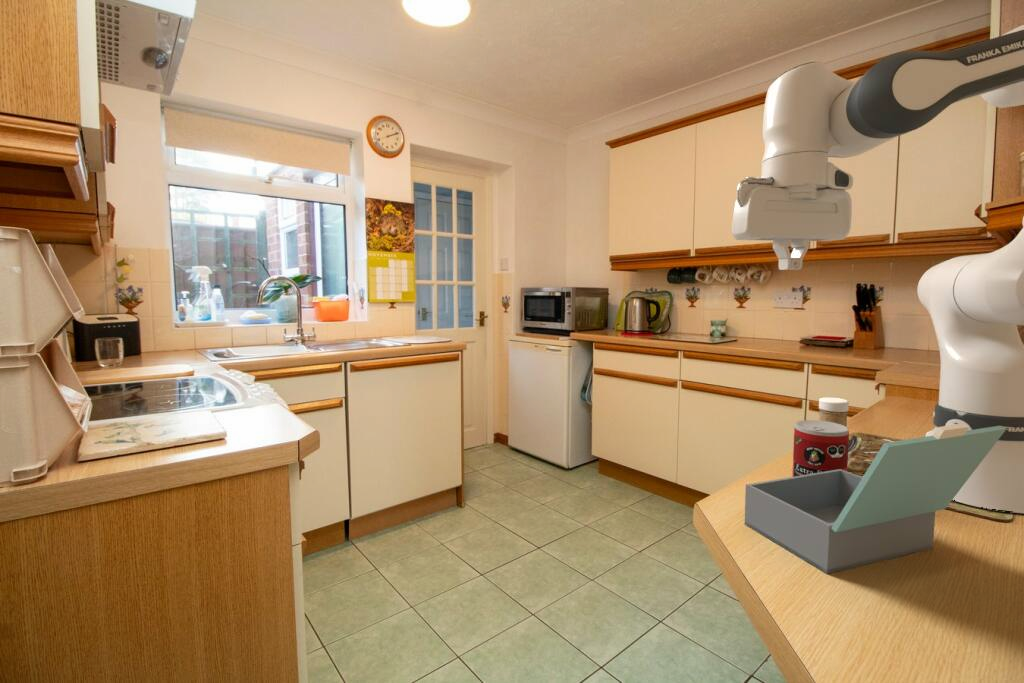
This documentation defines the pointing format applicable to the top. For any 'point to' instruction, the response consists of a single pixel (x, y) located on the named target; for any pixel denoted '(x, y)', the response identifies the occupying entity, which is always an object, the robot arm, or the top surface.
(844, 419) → the sprinkles bottle
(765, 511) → the box
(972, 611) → the top surface
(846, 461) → the canned food
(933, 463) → the mailer lid
